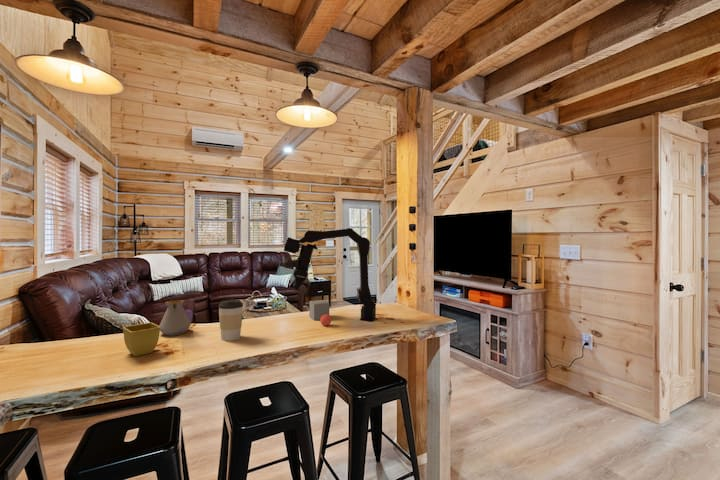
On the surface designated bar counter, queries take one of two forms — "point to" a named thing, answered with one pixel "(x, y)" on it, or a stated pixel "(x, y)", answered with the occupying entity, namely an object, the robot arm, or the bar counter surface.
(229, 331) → the coffee cup
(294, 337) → the bar counter surface
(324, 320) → the ball
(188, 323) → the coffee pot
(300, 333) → the bar counter surface
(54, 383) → the bar counter surface
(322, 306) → the grey cube
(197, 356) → the bar counter surface
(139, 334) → the flower pot
